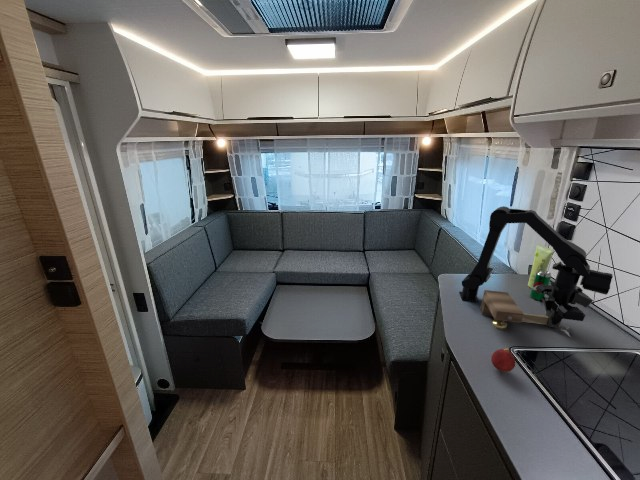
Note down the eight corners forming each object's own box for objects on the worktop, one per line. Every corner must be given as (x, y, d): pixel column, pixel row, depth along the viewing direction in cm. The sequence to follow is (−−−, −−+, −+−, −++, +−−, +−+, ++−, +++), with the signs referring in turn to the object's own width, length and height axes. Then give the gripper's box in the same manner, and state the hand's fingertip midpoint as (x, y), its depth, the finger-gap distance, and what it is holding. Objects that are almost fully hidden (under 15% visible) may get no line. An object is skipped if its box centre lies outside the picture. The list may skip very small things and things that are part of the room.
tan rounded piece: (490, 321, 108) (491, 318, 107) (503, 323, 107) (504, 319, 106) (494, 329, 103) (495, 325, 103) (508, 330, 103) (509, 327, 102)
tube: (525, 287, 131) (537, 247, 124) (526, 282, 134) (537, 243, 128) (541, 291, 128) (554, 250, 121) (541, 286, 131) (553, 246, 125)
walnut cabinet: (479, 310, 114) (484, 290, 111) (502, 312, 112) (507, 292, 109) (492, 334, 100) (498, 312, 97) (518, 338, 99) (524, 315, 95)
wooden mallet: (503, 316, 109) (507, 305, 108) (554, 322, 106) (558, 310, 104) (506, 321, 107) (510, 309, 105) (558, 327, 103) (563, 315, 101)
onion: (493, 377, 83) (500, 355, 80) (485, 362, 88) (491, 340, 86) (515, 379, 82) (522, 357, 79) (506, 364, 88) (512, 342, 85)
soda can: (546, 301, 120) (554, 275, 115) (532, 300, 121) (540, 274, 116) (540, 295, 124) (548, 270, 120) (527, 293, 125) (534, 268, 121)
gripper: (612, 301, 89) (594, 342, 94) (576, 273, 106) (563, 309, 111) (570, 296, 91) (555, 337, 97) (541, 270, 108) (530, 306, 114)
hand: (551, 321), depth 105 cm, fingers closed on wooden mallet, 3 cm apart
